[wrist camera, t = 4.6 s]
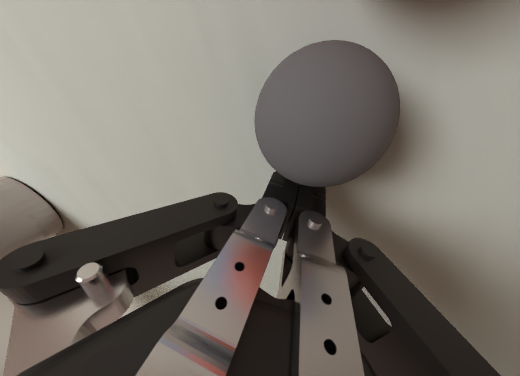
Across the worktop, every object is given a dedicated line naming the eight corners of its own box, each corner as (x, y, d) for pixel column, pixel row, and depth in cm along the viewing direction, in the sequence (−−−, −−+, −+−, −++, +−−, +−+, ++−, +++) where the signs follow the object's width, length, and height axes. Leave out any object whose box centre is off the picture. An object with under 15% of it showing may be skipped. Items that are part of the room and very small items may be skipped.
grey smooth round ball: (220, 93, 5) (291, -13, 7) (238, 179, 10) (276, 104, 12) (439, 169, 4) (453, 27, 6) (340, 220, 9) (364, 134, 11)
